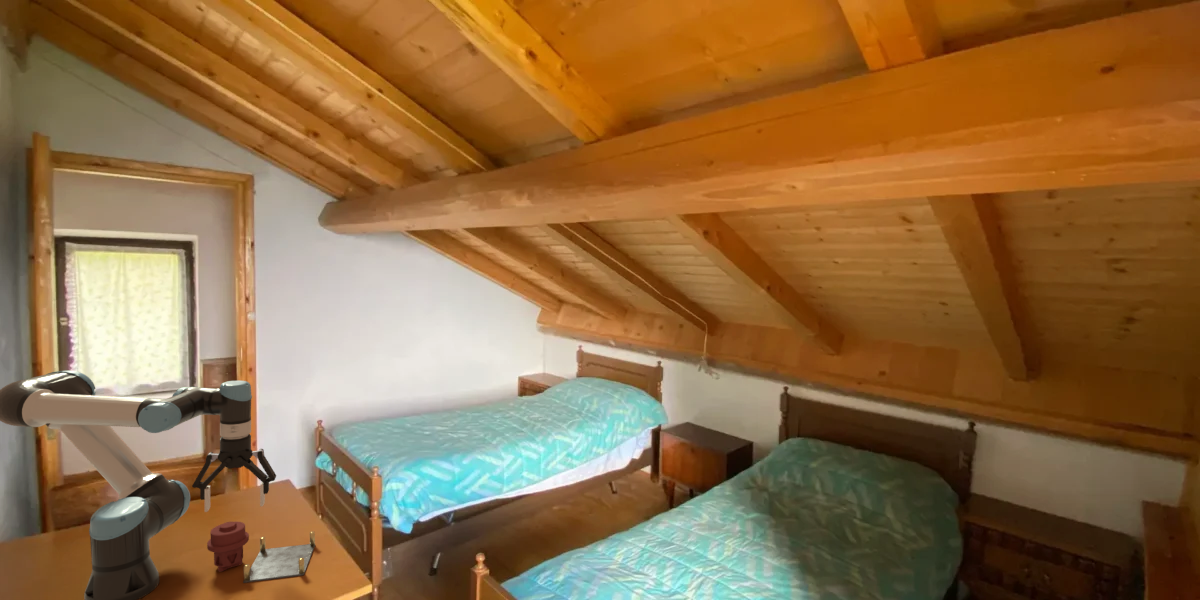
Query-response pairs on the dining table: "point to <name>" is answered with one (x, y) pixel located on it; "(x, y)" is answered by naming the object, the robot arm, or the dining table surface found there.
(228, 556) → the mechanical component
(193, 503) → the dining table surface
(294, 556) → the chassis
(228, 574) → the dining table surface
